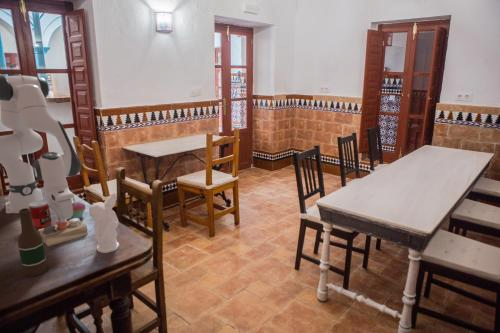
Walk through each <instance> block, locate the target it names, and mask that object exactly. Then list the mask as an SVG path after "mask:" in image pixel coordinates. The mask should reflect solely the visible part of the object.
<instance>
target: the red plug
mask: <svg viewBox="0 0 500 333" xmlns="http://www.w3.org/2000/svg"><path fill="white" fill-rule="evenodd" d="M67 221H68V220H67V219H65V222H63V223H61V222H60V221H58V220H57V221H56V224H57V226H58V230H59V231H61V230H64V229H67ZM56 224H55V225H56Z"/></svg>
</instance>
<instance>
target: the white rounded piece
mask: <svg viewBox="0 0 500 333" xmlns="http://www.w3.org/2000/svg"><path fill="white" fill-rule="evenodd" d="M68 221H69V223H70V227H74V226H77V225H79V221H81V220H80V218H74V219H73V218H69V220H68Z"/></svg>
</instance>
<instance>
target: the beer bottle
mask: <svg viewBox="0 0 500 333" xmlns="http://www.w3.org/2000/svg"><path fill="white" fill-rule="evenodd" d="M30 212H31V210H30V209H28V208H25V209H21V210H19V213H18V215H19V219H20V225H21V232H20V235H19V236H18V241H17V245H18V251H19V256H20V262H21V266H22V267H21V268H22V271H23V274H24V276H25V277H30V278H33V277H38V276H41V275H43V274H44V273H45V272H46V273H47V271H48V262H47V257H46V251H45V245H44V244H45V243H44V242H43V239H42V236H41V234H40V233H39V231H38V230H37V228H35V227H34V225H33V221H32V218H31V214H30Z"/></svg>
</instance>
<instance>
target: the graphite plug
mask: <svg viewBox="0 0 500 333" xmlns="http://www.w3.org/2000/svg"><path fill="white" fill-rule="evenodd" d="M54 225H55V224H53V225H52V224H51V225H49V226H46V227H44V230H45V233H46V235H47V234H51V233H54V232H55V226H54Z"/></svg>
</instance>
